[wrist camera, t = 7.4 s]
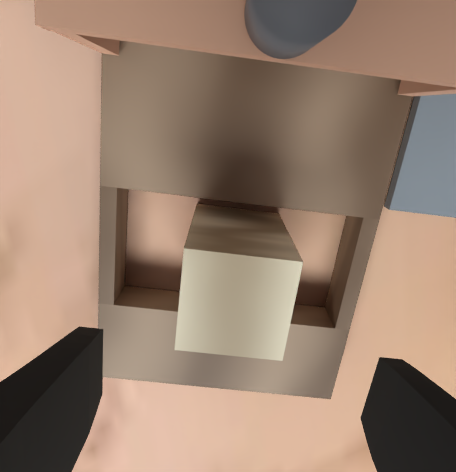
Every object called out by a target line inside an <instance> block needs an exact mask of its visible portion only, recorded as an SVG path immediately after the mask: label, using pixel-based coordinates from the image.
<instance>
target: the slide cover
mask: <svg viewBox="0 0 456 472" xmlns="http://www.w3.org/2000/svg"><path fill="white" fill-rule="evenodd" d="M34 3H35V25H37V26H40V27H42V28H44V29H46V30H49V31H54V32H56V33H58V34H60V35H62V36H65V37H67V38H69V39H71V40H74V41H76V42H78V43H80V44H83V45H85V46H87V47H89V48H92V49H94V50H96V51H98V52H100V53H103V54H110V55H117V56H119V44H120V41H128V42H135V43H142V44H149V45H156V46H163V47H170V48H177V49H185V50H192V51H199V52H206V53H213V54H220V55H227V56H234V57H242V58H249V59H256V60H263V61H270V62H277V63H284V64H292V65H299V66H306V67H313V68H320V69H327V70H334V71H341V72H349V73H356V74H363V75H370V76H377V77H384V78H391V79H398V80H401V82H400V86H399V90H398V94H399V95H406V96H427V95H442V94H456V0H34Z"/></svg>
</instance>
